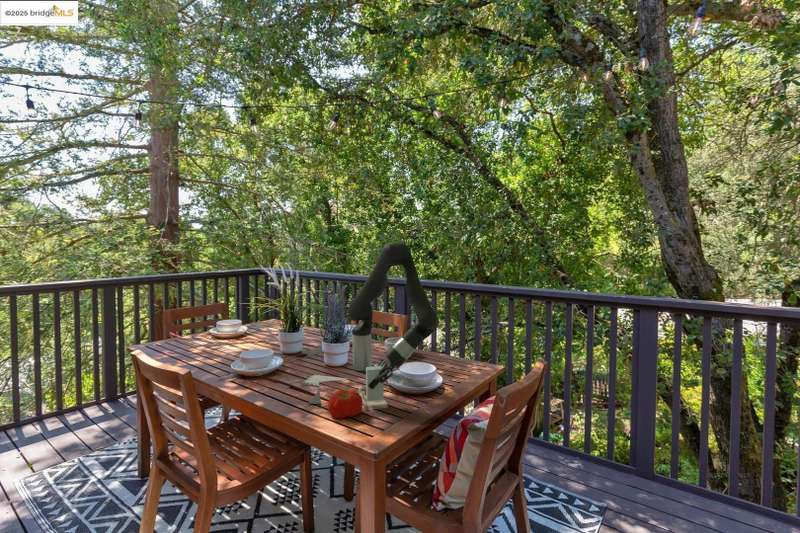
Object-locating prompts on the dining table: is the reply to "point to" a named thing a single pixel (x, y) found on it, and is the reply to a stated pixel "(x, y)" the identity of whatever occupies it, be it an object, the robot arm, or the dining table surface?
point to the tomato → (345, 404)
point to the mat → (316, 399)
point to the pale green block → (378, 390)
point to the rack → (372, 402)
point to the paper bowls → (390, 342)
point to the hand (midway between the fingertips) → (369, 385)
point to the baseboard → (321, 379)
